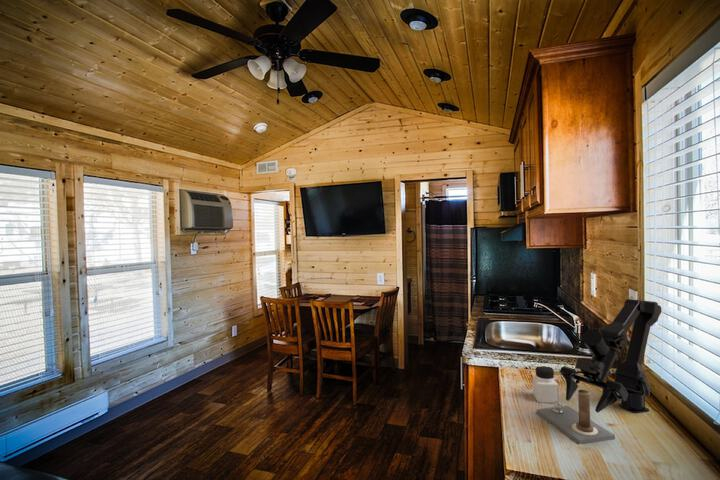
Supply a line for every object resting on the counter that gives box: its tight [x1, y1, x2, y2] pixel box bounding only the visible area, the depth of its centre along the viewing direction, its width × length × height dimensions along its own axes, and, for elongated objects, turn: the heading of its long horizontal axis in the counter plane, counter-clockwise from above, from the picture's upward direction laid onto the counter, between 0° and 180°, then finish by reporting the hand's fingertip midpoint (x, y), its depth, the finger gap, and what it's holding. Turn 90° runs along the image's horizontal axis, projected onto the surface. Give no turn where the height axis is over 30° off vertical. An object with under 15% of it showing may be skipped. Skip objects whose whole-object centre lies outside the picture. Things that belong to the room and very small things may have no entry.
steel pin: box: [552, 400, 563, 414], centre depth 129 cm, size 3×3×3 cm
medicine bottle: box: [532, 365, 559, 404], centre depth 141 cm, size 7×7×12 cm
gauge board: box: [536, 405, 616, 445], centre depth 122 cm, size 12×20×1 cm, turn 10°
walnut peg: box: [576, 389, 593, 432], centre depth 117 cm, size 5×5×12 cm
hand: (581, 405), depth 116 cm, fingers open, 9 cm apart
